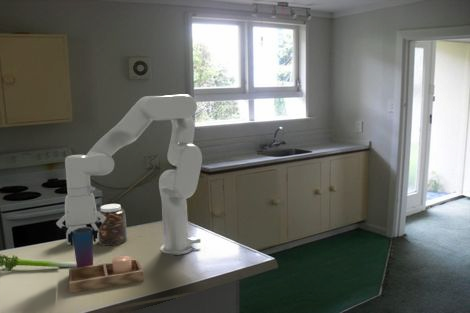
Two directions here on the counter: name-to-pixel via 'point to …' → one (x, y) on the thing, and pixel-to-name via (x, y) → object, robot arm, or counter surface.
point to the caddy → (102, 276)
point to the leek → (32, 263)
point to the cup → (83, 246)
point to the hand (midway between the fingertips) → (83, 242)
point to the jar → (112, 225)
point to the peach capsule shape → (122, 265)
